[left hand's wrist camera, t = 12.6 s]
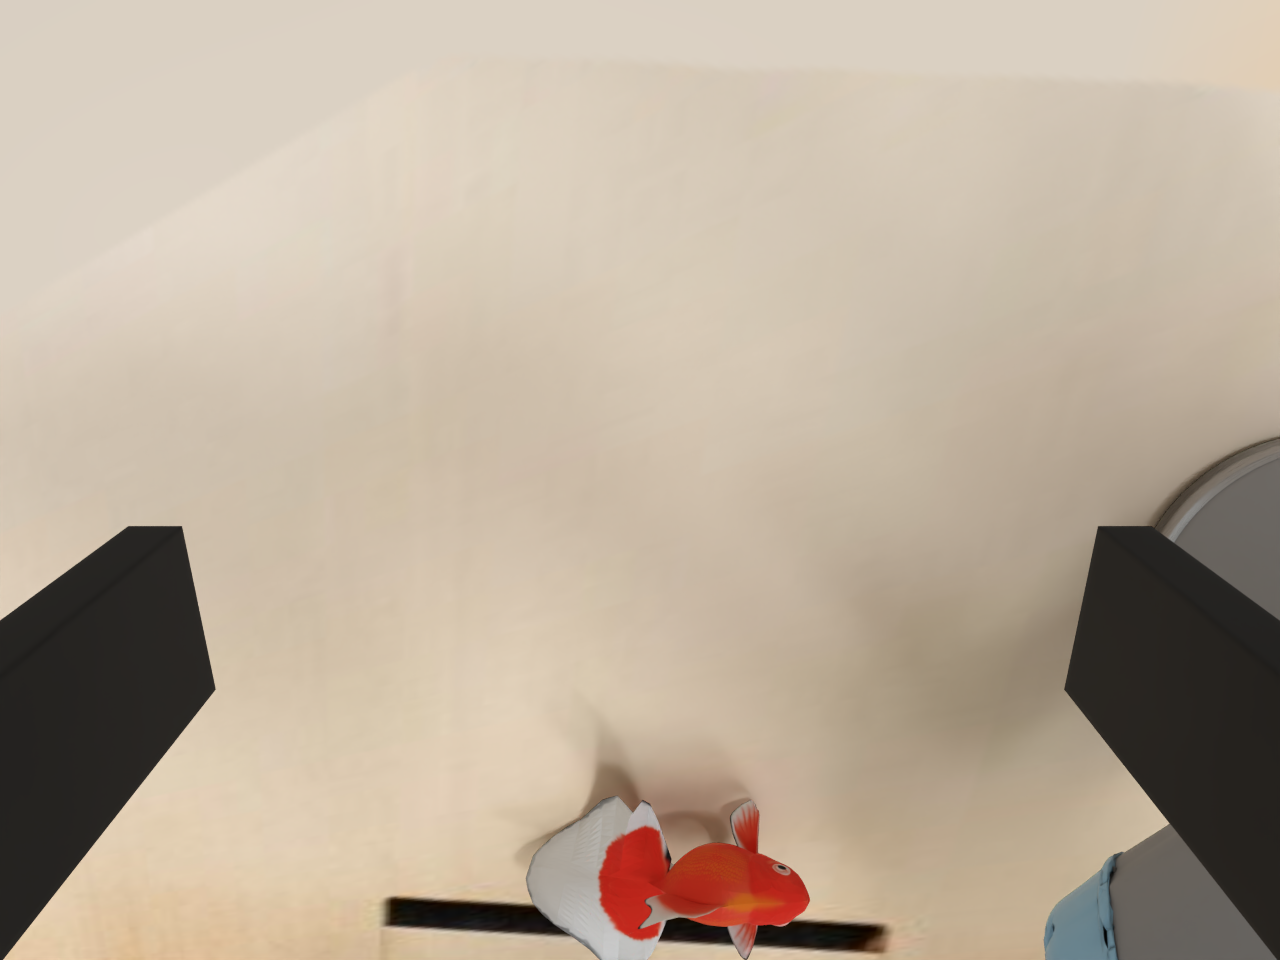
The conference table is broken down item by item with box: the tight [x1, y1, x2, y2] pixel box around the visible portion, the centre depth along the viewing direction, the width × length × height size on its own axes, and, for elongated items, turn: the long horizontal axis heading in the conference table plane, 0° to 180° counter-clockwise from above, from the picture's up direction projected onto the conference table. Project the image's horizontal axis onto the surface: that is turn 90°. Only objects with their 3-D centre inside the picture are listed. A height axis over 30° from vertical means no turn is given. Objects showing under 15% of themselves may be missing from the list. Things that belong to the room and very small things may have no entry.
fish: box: [526, 796, 810, 960], centre depth 49 cm, size 11×16×10 cm
